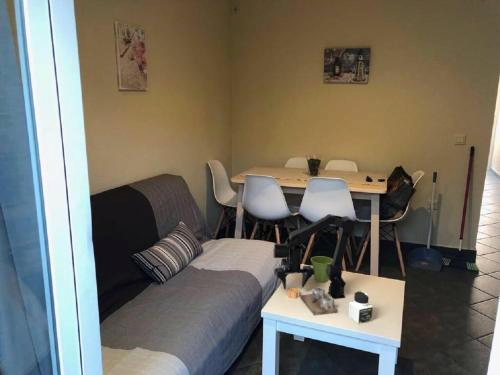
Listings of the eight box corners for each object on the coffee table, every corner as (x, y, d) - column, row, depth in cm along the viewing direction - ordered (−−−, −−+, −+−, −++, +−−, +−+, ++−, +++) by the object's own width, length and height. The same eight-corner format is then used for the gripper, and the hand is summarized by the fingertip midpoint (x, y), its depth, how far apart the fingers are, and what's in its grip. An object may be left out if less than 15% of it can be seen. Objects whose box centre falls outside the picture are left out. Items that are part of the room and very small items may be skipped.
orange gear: (296, 292, 201) (296, 286, 201) (300, 297, 196) (301, 292, 195) (285, 293, 200) (285, 287, 199) (289, 299, 194) (289, 293, 194)
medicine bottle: (358, 324, 172) (360, 298, 170) (348, 316, 179) (349, 291, 177) (371, 321, 175) (374, 295, 173) (361, 313, 182) (363, 288, 179)
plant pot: (329, 275, 223) (330, 255, 221) (334, 284, 212) (335, 264, 209) (307, 275, 223) (308, 255, 220) (312, 284, 211) (313, 264, 209)
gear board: (321, 295, 198) (322, 285, 197) (336, 312, 182) (337, 301, 181) (300, 298, 196) (300, 287, 194) (313, 315, 179) (314, 303, 178)
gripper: (307, 250, 204) (305, 279, 207) (271, 253, 199) (270, 282, 202) (315, 258, 193) (314, 289, 196) (278, 261, 189) (277, 292, 192)
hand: (293, 288), depth 197 cm, fingers open, 9 cm apart
